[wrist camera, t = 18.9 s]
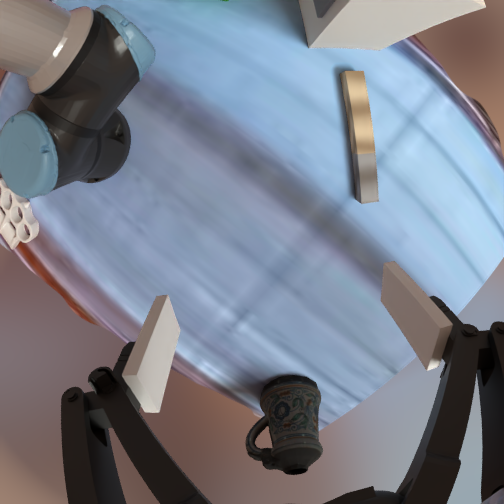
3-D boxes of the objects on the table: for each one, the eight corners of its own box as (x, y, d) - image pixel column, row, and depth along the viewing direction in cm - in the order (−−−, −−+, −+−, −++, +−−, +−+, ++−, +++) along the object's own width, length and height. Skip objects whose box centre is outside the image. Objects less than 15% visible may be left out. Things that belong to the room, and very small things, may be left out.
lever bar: (372, 197, 52) (378, 201, 49) (355, 199, 52) (361, 203, 49) (357, 73, 42) (363, 71, 40) (339, 73, 42) (345, 71, 40)
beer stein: (327, 395, 74) (346, 468, 51) (268, 418, 78) (274, 489, 55) (303, 365, 68) (322, 449, 45) (238, 392, 72) (238, 472, 49)
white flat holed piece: (-12, 204, 49) (10, 163, 46) (24, 255, 55) (48, 219, 52) (-20, 208, 46) (1, 165, 43) (16, 261, 52) (40, 224, 49)
